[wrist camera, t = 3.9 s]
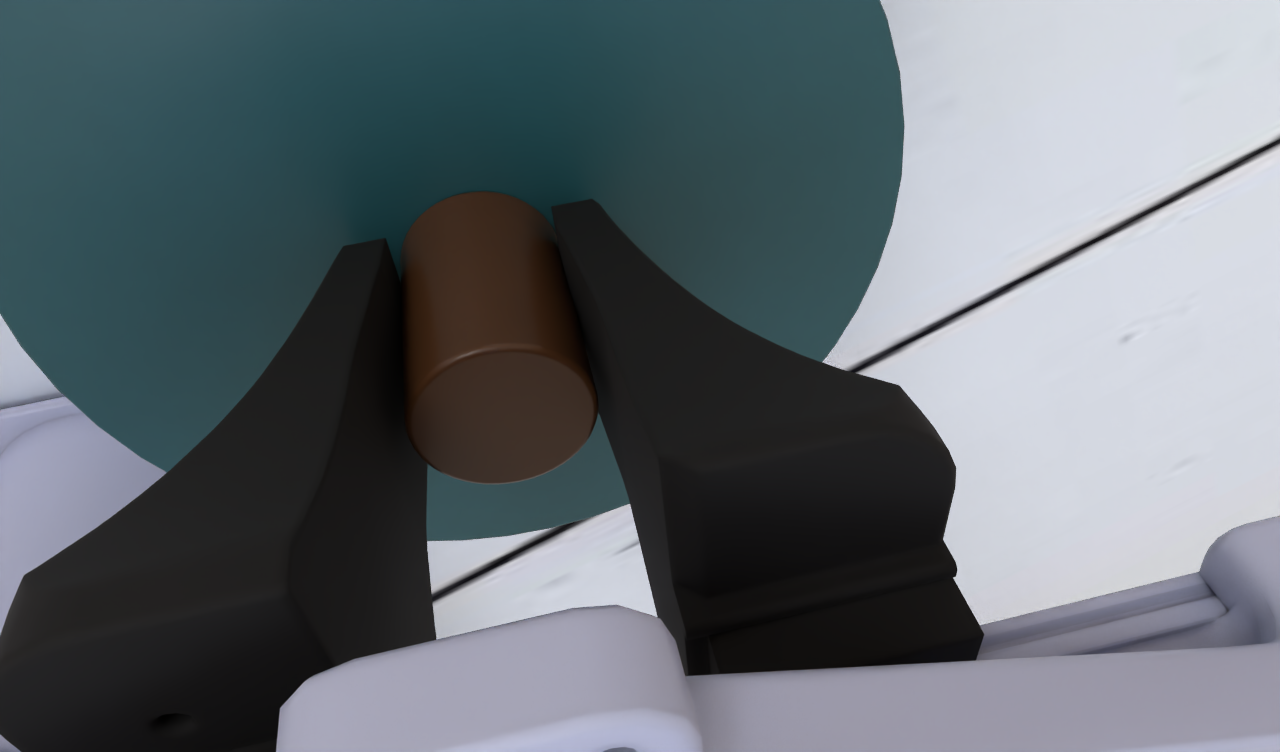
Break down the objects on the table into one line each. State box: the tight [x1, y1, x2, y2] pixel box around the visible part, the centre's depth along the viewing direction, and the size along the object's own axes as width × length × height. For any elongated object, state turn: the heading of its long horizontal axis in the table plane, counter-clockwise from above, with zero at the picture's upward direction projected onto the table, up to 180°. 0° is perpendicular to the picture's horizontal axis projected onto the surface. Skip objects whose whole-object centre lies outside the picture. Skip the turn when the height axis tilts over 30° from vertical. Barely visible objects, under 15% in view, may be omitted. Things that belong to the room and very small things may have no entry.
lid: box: [0, 0, 904, 541], centre depth 13 cm, size 14×14×5 cm
